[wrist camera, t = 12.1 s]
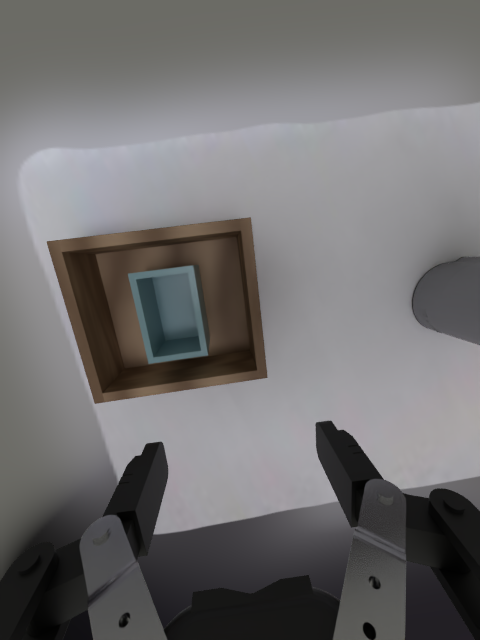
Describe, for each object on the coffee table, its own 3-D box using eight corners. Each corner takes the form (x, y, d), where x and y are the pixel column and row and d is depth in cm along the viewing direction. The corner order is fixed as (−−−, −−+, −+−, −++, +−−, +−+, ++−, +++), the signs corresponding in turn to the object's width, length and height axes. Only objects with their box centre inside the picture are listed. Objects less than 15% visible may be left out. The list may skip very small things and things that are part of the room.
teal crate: (198, 264, 28) (193, 265, 23) (210, 337, 31) (207, 355, 25) (146, 271, 28) (127, 273, 22) (162, 344, 30) (148, 363, 25)
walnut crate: (243, 227, 29) (250, 217, 22) (257, 353, 33) (267, 377, 26) (88, 246, 28) (46, 241, 21) (121, 373, 32) (95, 403, 25)
